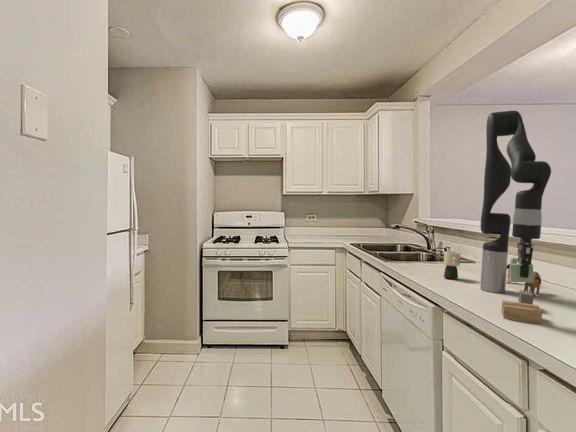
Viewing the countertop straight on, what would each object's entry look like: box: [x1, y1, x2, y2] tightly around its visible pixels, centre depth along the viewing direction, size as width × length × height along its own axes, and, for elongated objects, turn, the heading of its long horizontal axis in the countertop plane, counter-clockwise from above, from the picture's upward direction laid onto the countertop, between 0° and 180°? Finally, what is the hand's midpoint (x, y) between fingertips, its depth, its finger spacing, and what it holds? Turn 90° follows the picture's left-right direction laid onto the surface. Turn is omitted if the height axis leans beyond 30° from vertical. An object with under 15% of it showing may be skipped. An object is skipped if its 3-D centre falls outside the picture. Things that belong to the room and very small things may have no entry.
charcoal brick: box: [518, 289, 534, 305], centre depth 126 cm, size 6×4×6 cm, turn 152°
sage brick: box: [509, 262, 534, 283], centre depth 114 cm, size 6×4×6 cm, turn 62°
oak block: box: [501, 300, 543, 325], centre depth 114 cm, size 8×10×4 cm
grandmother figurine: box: [506, 256, 519, 283], centre depth 166 cm, size 8×4×13 cm, turn 76°
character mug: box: [443, 250, 461, 280], centre depth 171 cm, size 11×7×13 cm, turn 169°
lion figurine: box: [523, 270, 542, 297], centre depth 146 cm, size 15×5×9 cm, turn 140°
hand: (523, 276), depth 113 cm, fingers closed on sage brick, 3 cm apart
